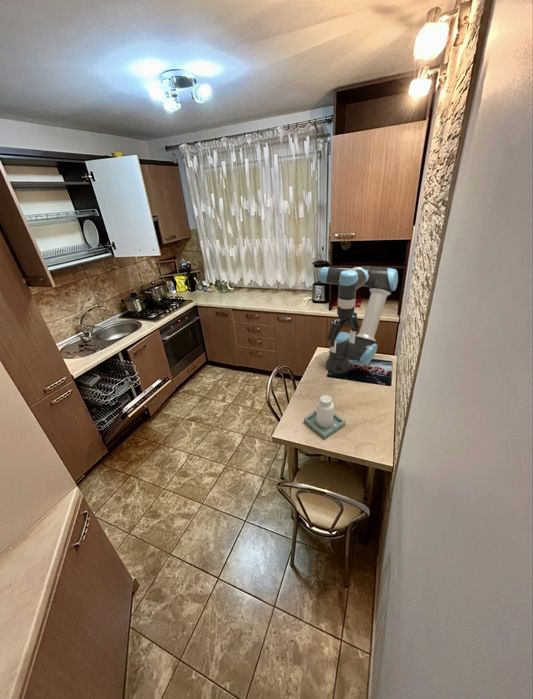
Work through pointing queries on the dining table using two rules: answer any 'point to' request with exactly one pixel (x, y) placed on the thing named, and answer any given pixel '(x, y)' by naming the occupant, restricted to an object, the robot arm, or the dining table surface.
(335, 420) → the tray
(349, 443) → the dining table surface
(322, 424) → the pill bottle
